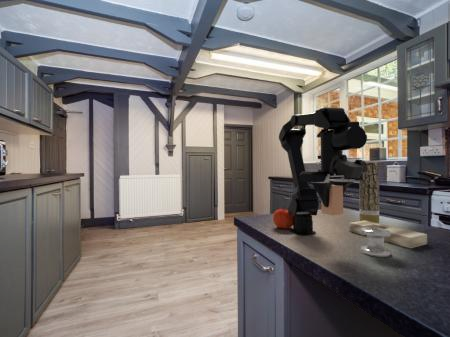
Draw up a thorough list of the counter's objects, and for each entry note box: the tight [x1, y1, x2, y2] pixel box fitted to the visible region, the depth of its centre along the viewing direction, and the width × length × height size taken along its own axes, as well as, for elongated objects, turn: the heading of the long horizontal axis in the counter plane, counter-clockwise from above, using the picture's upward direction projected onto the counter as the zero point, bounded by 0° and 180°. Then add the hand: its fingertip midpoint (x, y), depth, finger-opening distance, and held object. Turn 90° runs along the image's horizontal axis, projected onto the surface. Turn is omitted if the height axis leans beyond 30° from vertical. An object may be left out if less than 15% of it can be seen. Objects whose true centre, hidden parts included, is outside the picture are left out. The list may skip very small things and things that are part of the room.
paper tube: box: [358, 160, 380, 224], centre depth 98 cm, size 7×7×25 cm
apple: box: [272, 206, 293, 230], centre depth 94 cm, size 8×8×8 cm
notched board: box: [348, 220, 428, 249], centre depth 81 cm, size 20×8×3 cm, turn 24°
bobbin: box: [360, 227, 392, 258], centre depth 67 cm, size 7×7×6 cm
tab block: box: [320, 185, 344, 216], centre depth 70 cm, size 4×4×8 cm
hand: (332, 206), depth 70 cm, fingers closed on tab block, 4 cm apart
